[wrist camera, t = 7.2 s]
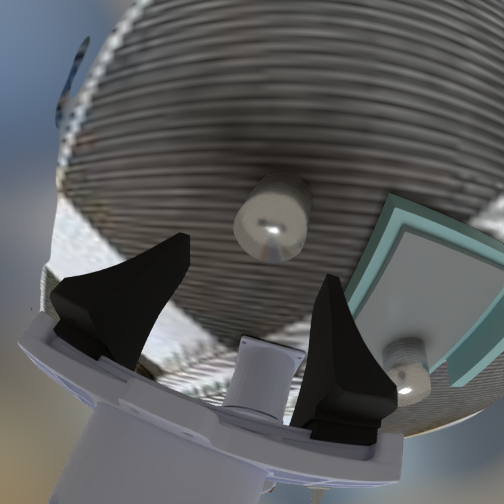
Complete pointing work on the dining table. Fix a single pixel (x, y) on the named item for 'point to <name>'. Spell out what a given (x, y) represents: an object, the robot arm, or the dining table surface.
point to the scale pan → (427, 295)
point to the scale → (454, 232)
